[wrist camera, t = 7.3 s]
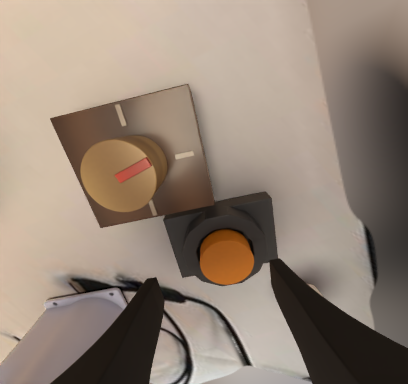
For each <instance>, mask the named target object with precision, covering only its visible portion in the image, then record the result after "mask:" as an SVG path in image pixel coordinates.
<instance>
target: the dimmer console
mask: <svg viewBox="0 0 408 384" xmlns="http://www.w3.org/2000/svg"><path fill="white" fill-rule="evenodd" d="M50 120H51V122H52V124H53V126H54V129H55V131H56V133H57V135H58V137H59V139H60V141H61V144H62V146H63V148H64V150H65V152H66V154H67V157H68V159H69V161H70V163H71V165H72V167H73V169H74V172H75V174H76V176H77V178H78V180H79V182H80V185H81V187H82V189H83V191H84V193H85V195H86V197H87V200H88V202H89V204H90V206H91V208H92V210H93V213H94V215H95V217H96V219H97V221H98V223H99V225H100V228H103V227H108V226H113V225H118V224H123V223H128V222H132V221H137V220H142V219H147V218H152V217H157V216H162V215H167V214H172V213H177V212H182V211H187V210H192V209H196V208H201V207H206V206H211V205H215V203H214V196H213V190H212V185H211V181H210V176H209V172H208V167H207V162H206V158H205V153H204V149H203V144H202V139H201V135H200V130H199V126H198V121H197V116H196V112H195V107H194V103H193V98H192V94H191V90H190V87H189V85H188V84H185V85H181V86H177V87H173V88H169V89H165V90H161V91H157V92H153V93H149V94H145V95H141V96H137V97H133V98H129V99H125V100H121V101H117V102H113V103H110V104H106V105H102V106H98V107H94V108H90V109H86V110H82V111H78V112H74V113H70V114H66V115H62V116H58V117H54V118H50ZM130 135H139V136H144V137H146V138H149V139H151V140H152V141H154V142H155V143H156V144H157V145H158V146H159V147H160V148H161V149H162V151H163V153H164V155H165V157H166V160H167V174H166V177H165V179H164V181H163V183H162V184H161V186H160V187H159V189H158V190H157V192H156V193H155V194H154V196H153V197H152V199H151V200H150V201H149V203H148V204H146V205H145V206H144V207H142V208H140V209H138V210H135V211H131V212H117V211H113V210H110V209H107V208H105V207H103V206H102V205H100V204H99V203H97V202H96V201H95V200H94V199H93V198H92V197H91V196H90V195H89V194H88V192H87V191H86V189H85V187H84V185H83V182H82V179H81V162H82V159H83V157H84V155H85V153H86V152H87V151H88V149H89V148H90V147H91V146H93V145H94V144H96V143H98V142H100V141H103V140H108V139H113V138H119V137H125V136H130Z"/></svg>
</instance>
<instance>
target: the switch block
mask: <svg viewBox="0 0 408 384" xmlns="http://www.w3.org/2000/svg"><path fill="white" fill-rule="evenodd" d="M214 203H215V205H211V206H206V207H201V208H196V209H192V210H187V211H182V212H177V213H172V214H167V215H165V217H164V219H163V221H164V224H165V227H166V230H167V233H168V236H169V239H170V242H171V245H172V248H173V251H174V254H175V257H176V260H177V263H178V266H179V269H180V272H181V275H182V278H184V277H189V276H196V277H198V278H199V279H200V280H201V281H203V282H207V283H211V284H215V285H219V286H226V285H224V284H218V283H215V282H212V281H211V280H209V279H208V278H206V277H205V275H204V274H203V272H202V271H201V268H200V248H201V244H202V242H203V240H204V239H205V238H206V237H207V236H208V235H209V234H211V233H212V232H215V231H217V230H222V229H230V230H234V231H237V232H239V233H241V234H242V235H243V236H244V237H245V238H246V239H247V241H248V243H249V246H250V248H251V251H252V254H253V257H254V266H253V269H252V271H251V273H250V274H249V275H248V276H247V277H246V278H245V279H243V280H242V281H240V282H237V283H234V284H238V283H242V282H244V281H245V280H247V279H248V278H250V277H251V276H253V275H254V274H256V273H257V272H259V271H260V269H261V267H262V265H263V263H268V262H269V260H273V259H278V254H277V245H276V236H275V226H274V217H273V208H272V199H271V197H270V196H269V195H268V194H267V193H266V192H262V193H257V194H252V195H247V196H242V197H237V198H232V199H228V200H223V201H218V202H214ZM228 285H232V284H228Z"/></svg>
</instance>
